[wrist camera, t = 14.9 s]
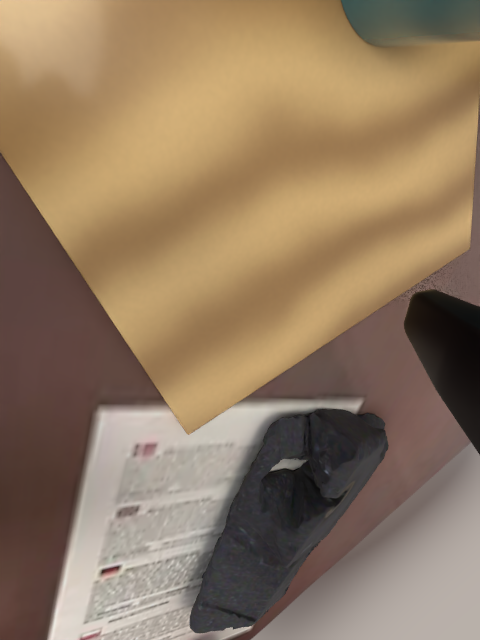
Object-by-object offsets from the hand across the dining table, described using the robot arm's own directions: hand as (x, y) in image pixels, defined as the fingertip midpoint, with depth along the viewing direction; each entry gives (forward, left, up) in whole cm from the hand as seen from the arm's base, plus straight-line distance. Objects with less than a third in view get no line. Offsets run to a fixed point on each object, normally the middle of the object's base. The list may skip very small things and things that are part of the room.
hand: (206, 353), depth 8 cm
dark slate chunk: (-24, -18, -12) cm, 32 cm away
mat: (+4, -10, -12) cm, 16 cm away
